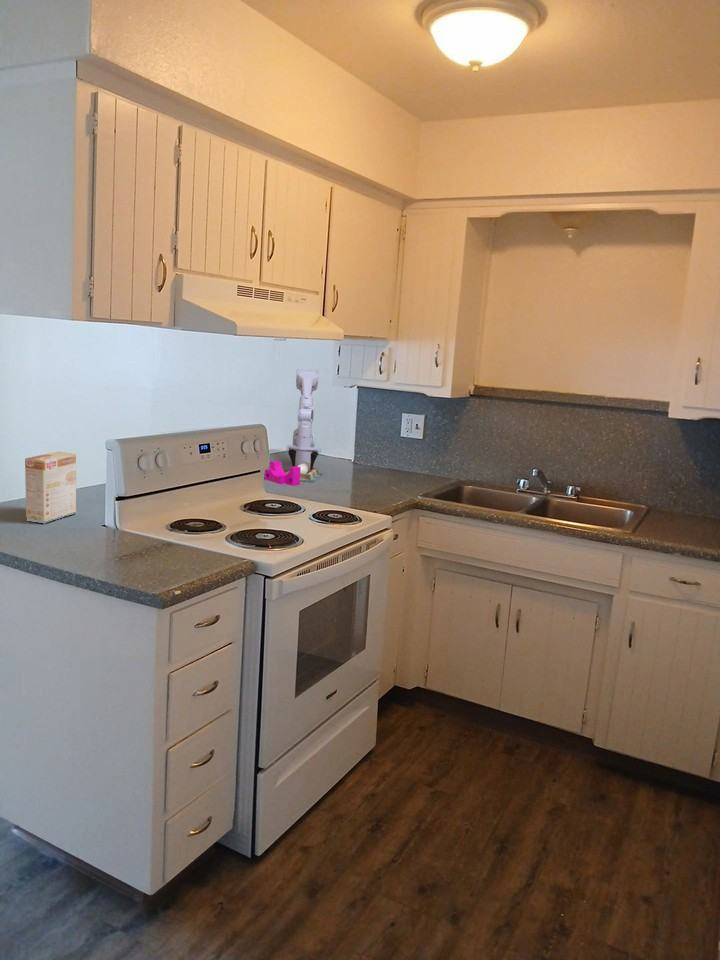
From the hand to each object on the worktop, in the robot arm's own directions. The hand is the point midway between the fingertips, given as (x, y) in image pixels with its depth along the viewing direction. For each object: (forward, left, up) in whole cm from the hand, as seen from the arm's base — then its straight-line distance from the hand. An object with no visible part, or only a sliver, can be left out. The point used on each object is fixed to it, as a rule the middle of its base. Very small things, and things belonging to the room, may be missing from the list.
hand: (302, 468), depth 328 cm
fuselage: (0, 0, -3) cm, 3 cm away
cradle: (0, 0, -4) cm, 4 cm away
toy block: (+15, -5, -4) cm, 16 cm away
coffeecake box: (+102, -55, -4) cm, 116 cm away
